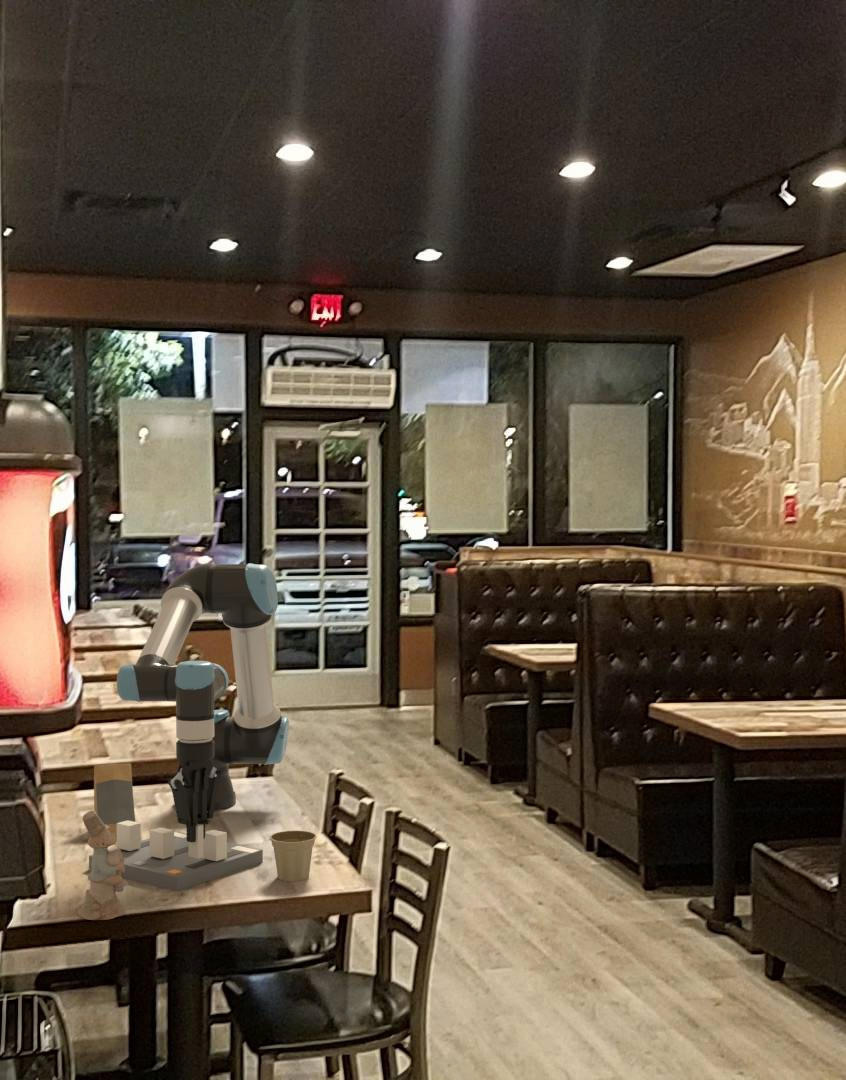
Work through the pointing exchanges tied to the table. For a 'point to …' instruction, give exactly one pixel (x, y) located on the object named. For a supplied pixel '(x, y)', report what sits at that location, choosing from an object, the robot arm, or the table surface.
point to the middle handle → (161, 843)
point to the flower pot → (293, 854)
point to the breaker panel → (183, 864)
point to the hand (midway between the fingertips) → (196, 856)
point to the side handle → (129, 835)
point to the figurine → (103, 873)
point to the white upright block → (215, 845)
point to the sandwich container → (113, 794)
